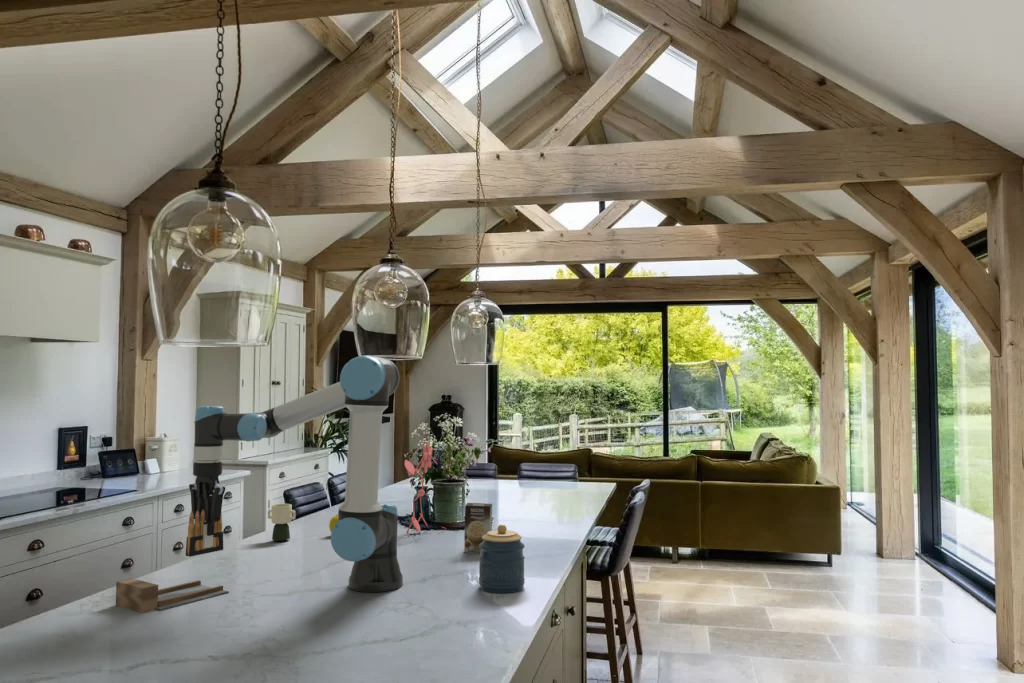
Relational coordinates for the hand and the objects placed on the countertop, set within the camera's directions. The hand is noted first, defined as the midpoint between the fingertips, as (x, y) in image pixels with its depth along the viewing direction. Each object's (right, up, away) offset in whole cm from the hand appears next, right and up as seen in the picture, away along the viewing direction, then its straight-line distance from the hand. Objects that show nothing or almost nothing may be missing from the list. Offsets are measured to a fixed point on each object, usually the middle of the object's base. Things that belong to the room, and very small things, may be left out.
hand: (204, 546), depth 209 cm
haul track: (-5, -11, -9) cm, 15 cm away
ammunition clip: (0, -2, 0) cm, 2 cm away
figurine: (+52, -18, +87) cm, 103 cm away
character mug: (+1, -16, +66) cm, 68 cm away
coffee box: (+74, -16, +50) cm, 91 cm away
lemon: (+19, -17, +76) cm, 80 cm away
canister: (+82, -13, +3) cm, 83 cm away
